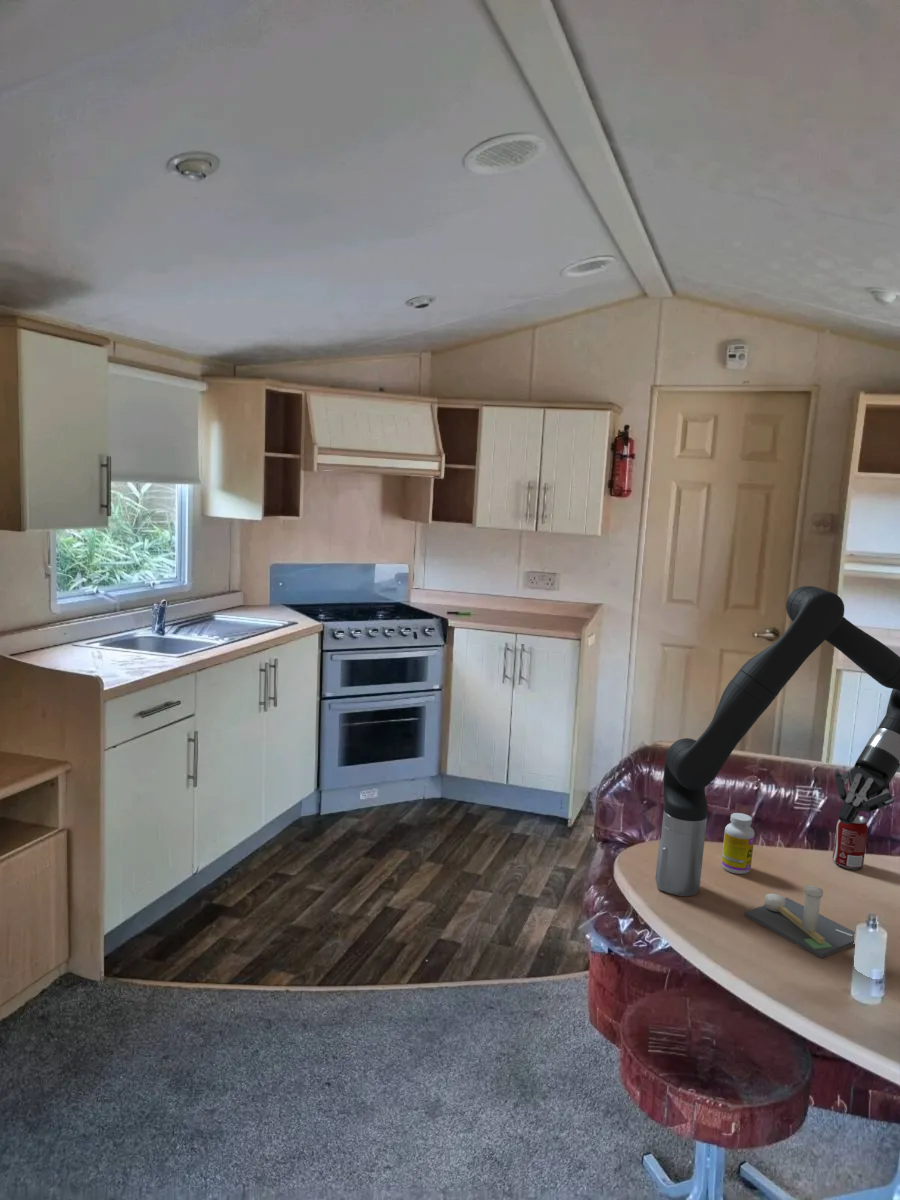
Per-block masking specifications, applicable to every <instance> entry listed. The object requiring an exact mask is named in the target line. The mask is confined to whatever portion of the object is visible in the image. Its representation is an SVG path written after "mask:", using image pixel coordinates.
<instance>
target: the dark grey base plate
mask: <svg viewBox="0 0 900 1200" xmlns="http://www.w3.org/2000/svg"><path fill="white" fill-rule="evenodd" d="M784 898H785V900H786V901H785V908H787V909H788V910H789V911H790V912H792V913H793V914H794V915H795V916H797V917H798V918H799V919H801V920H802V919H803V911H804V905H802V904H801V903H799V902H797V901H794V900H793V899H790V898H789V897H784ZM744 916H745V917H746V918H748V919H750V920H752V921H753V922H755V923H758V924H759V925H760V926H762V927H764V928H766V929H768V930H770V931H772V932H773V933H775V934H776V935H779V936H781V937H783V938H784V939H786V940H787V941H789V942H791V943H793V944H795V945H797V946H798V947H801V948H802V949H804V950H806V951H808V952H810V953H811V954H813V955H815V956H817V957H819V958H821V959H823V958H826V957H828V956H830V955H832V954H834V952H835V953H836V951H837V952H839V951H841V949H842V950H844V949H846V948H845V947H847V948H848V946H849V947H851V946H854V945H853V943H854V934H855V931H854V930H852V929H850V928H848V927H846V926H844V925H842V924H840V923H838V922H836V921H835V920H832V919H830V918H829V917H826V916H824V915H822V914H820V913H819V916H818V924H817V931H816V932H817V933H818V934H820V935H821V936H822V937H823V938H825V940H824V943H822V944H819V943H818V942H817V941H816V940H814V939H813V938H812V937H811V936H809V935H808V934H807V933H806V932H805V931H803V930H802V929H801V928H800V927H798V926H797V925H796V924H795V923H793V922H792V921H791V920H790V919H788V918H787V917H786V916H785V915H783V914H782V913H781V912H776V911H772V910H769V909H767V908H766V907H765V905H760V906H758V907H755V908H753V909H749V910H747V911H744ZM843 948H844V949H843ZM827 955H828V956H827Z"/></svg>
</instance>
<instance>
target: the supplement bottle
mask: <svg viewBox="0 0 900 1200" xmlns="http://www.w3.org/2000/svg"><path fill="white" fill-rule="evenodd" d="M752 821H753V818H752V817H751V815H748V814H746V813H742V812H741V813H740V812H733V813H731V814H730V823H728V824H727V825H726V826H725V828H724V836H723V843H722V844H723V846H722V854H721V861H720V864H721V867H722V868H723V869H724V870H725V871H727V872H729V873H733V874H737V875H739V874H740V875H744V874H748V873H749V872H750V871H751V868H752V859H753V851H754V843H755V842H754V841H755V830H754V829H753V827H751V825H752V823H753V822H752Z"/></svg>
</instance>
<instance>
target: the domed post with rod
mask: <svg viewBox="0 0 900 1200" xmlns="http://www.w3.org/2000/svg"><path fill="white" fill-rule="evenodd" d="M803 892H804V894H805V896H804V905H803V906H804V911H803V919H802V920H801V919H799V918H798V917H797V916H795V915H794V914H793V913H792V912H790V911H789V910H788V909H787V908H785V901H786V900H785V898H786V897H784V896H782V895H781V894H780V895H779V894H777V893H767V894H765V896H764V897H765V898H764V905H765V907H766V908H767V909H769V910H772V911H776V912H781V913H782V914H783V915H785V916H786V917H787V918H788V919H790V920H791V921H792V922H793V923H795V924H796V925H797V926H798V927H800V928H801V929H802V930H803V931H805V932H806V933H807V934H808V935H809V936H811V937H812V938H813V939H814V940H816V941H817V942H818V943H819V944H822V943H824V940H825V938H823V937H822V936H821V935H820V934H818V933H817V932H816V931H817V924H818V916H819V914H820V908H821V907H820V906H821V898H822V897H824V890H823V889H822V888H821V887H819V886H817V885H805V886H804V891H803ZM764 905H763V906H764Z"/></svg>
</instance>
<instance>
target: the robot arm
mask: <svg viewBox="0 0 900 1200" xmlns="http://www.w3.org/2000/svg"><path fill="white" fill-rule="evenodd" d="M785 609H786V614H787V616H788V617H789V619H790V620H791V622H792V623H791V624H790V625H789V627H788V628H787V629H786V631H785V632H784V633H783V634H782V635H781V636H780V637H779V638H778V639H777V640H775V642H773V643H772V644H771V645H769V646H768V647H766V648H764V649H763V650H762V651H760V652H759V653H757V654H755V655H754V656H752V658H750V659H749V660H747V661H746V662H745V663H744V664H743V665H742V666H741V667H740V669H739V670H738V671H737V672H736V674H735V675H734V676H733V678H731V680H730V681H729V683H728V684H727V685H726V687H725V688H724V690H723V693H722V695H721V697H720V699H719V702H718V705H717V707H716V710H715V713H714V714H713V718H712V720H711V721H710V723H709V725H708V726H707V728H706V729H705V730H704V731H703V732H702V734H701V735H700V736H699V737H698V738H697V739H693V738H690V737H689V738H688V737H686V738H685V737H684V738H680V739H678V740H676V741H674V742H673V743H672V744H671V745H670V746H669V748H668V750H667V752H666V755H665V759H664V760H665V761H664V769H663V783H662V794H663V795H662V796H663V802H664V805H663V816H662V817H663V818H662V825H661V826H662V827H661V834H660V835H661V836H660V838H659V840H658V849H657V859H656V869H655V882H656V887H657V890H658V891H660V892H661V891H662V892H664V893H665V892H666V893H667V894H668V893H669V894H670V895H673V896H674V895H675V896H679V897H691V896H696V895H697V894H698V893H699V892H700V888H701V882H702V881H701V879H702V877H701V876H702V868H703V861H704V860H703V857H704V851H705V850H704V848H705V840H706V830H707V820H708V811H709V810H708V809H709V805H708V801H707V796H706V789H705V788H706V787H707V786H709V785H710V784H711V783H712V782H713V781H714V780H715V778H717V776H718V775H719V772H720V771H721V769H722V768H723V766H724V765H725V763H726V762H727V760H728V759H729V757H730V756H731V754H732V753H733V751H734V749H735V748H736V746H737V745H738V744H739V743H740V742H741V740H742V739H743V738H744V736H745V735H746V734H747V733H748V732H749V731H750V729H751V728H752V727H753V726H754V724H755V723H756V722H757V721H758V719H759V718H760V717H761V716H762V715H763V713H765V711H766V710H767V709H768V707H769V706H770V705H771V704H772V702H773V701H774V700H775V699H776V698H777V696H778V695H779V693H781V691H782V689H784V687H785V686H786V685H787V683H788V682H789V681H790V680H791V678H792V677H794V675H795V674H796V672H798V670H799V669H800V668H801V666H802V665H803V664H804V663H805V661H806V660H807V659H808V658H809V657H810V655H811V654H812V653H813V652H814V651H816V650H817V648H819V647H820V646H821V645H822V643H824V641H826V642H827V643H829V644H830V645H831V646H833V647H835V648H836V649H837V650H838V651H839V652H841V653H842V654H843V655H845V656H846V658H848V659H849V660H850V661H851V662H853V663H854V664H855V665H856V666H857V667H858V668H860V669H861V670H863V672H865V673H866V674H867V675H868V676H870V677H871V678H872V679H874V681H876V682H877V683H878V684H880V685H881V686H883V687H885V688H887V689H892V690H891V692H890V695H889V700H888V703H887V708H886V713H885V716H884V717H883V719H882V720H881V722H880V724H879V725H878V727H877V729H876V730H875V731H874V733H873V734H872V735H871V736H870V737H869V740H868V741H867V743H866V744H865V746H864V748H863V750H862V751H861V753H860V755H859V756H858V758H857V760H856V761H855V763H854V766H853V767H851V768H850V769H849V770H848V771H847V772H846V773H840V772H838V771H837V772H835V773H834V779H835V783H836V784H835V785H836V788H837V793H838V796H839V798H840V800H841V802H843V805H842V806H841V808H840V810H839V811H838V820H839V819H840V821H841V822H842V823H845V824H847V825H849V823H852V822H853V821H854V820H855V818H856V816H857V815H859V813H860V812H862V811H863V812H866V813H871V812H875V811H877V810H879V809H882V808H884V807H887V806H889V805H892V804H894V802H895V799H894V797H893V795H892V793H891V792H889V790H890V782H892V780H893V778H894V776H895V775H896V773H897V771H898V770H899V768H900V656H899V655H898V654H897V653H896V652H895V651H893V650H892V649H891V648H889V647H888V646H887V645H885V644H884V643H883V642H881V641H879V640H878V639H877V638H875V637H873V636H872V635H870V634H869V633H867V632H866V631H864V630H863V629H861V628H859V627H858V626H856V625H855V624H853V623H852V622H851V621H850V620H848V619H847V618H845V617H844V615H845V604H844V601H843V600H842V598H841V597H840V596H839V595H838V594H836V593H835V592H832V591H829V590H826V589H823V588H821V587H817V586H813V585H804V586H800V587H798V588H795V589H794V590H793V591H792V592H791V593H790V594H789V595H788V597H787V600H786V604H785ZM848 782H849V789H848V794H847V789H846V785H847V783H848Z"/></svg>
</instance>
